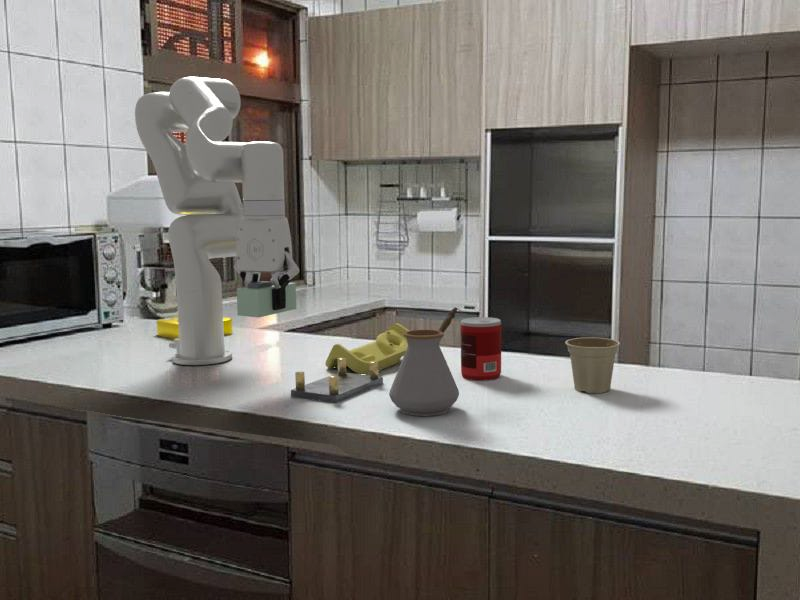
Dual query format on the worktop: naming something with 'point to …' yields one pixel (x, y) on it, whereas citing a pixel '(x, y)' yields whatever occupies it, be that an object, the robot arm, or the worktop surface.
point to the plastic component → (372, 351)
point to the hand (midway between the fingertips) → (267, 307)
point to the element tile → (171, 327)
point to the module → (262, 299)
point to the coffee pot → (425, 374)
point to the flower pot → (592, 363)
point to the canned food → (481, 348)
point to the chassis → (336, 384)
